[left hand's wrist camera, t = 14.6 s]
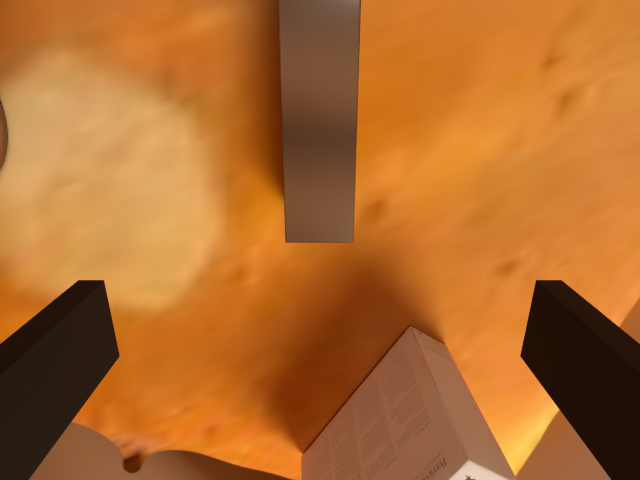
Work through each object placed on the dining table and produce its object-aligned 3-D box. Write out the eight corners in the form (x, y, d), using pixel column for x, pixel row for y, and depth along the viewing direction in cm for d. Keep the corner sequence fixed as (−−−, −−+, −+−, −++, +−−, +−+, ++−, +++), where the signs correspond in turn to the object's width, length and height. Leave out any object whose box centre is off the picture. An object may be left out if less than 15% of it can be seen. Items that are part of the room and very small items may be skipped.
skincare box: (339, 474, 49) (348, 646, 34) (300, 455, 47) (291, 624, 33) (453, 347, 42) (525, 491, 27) (411, 322, 41) (462, 457, 26)
